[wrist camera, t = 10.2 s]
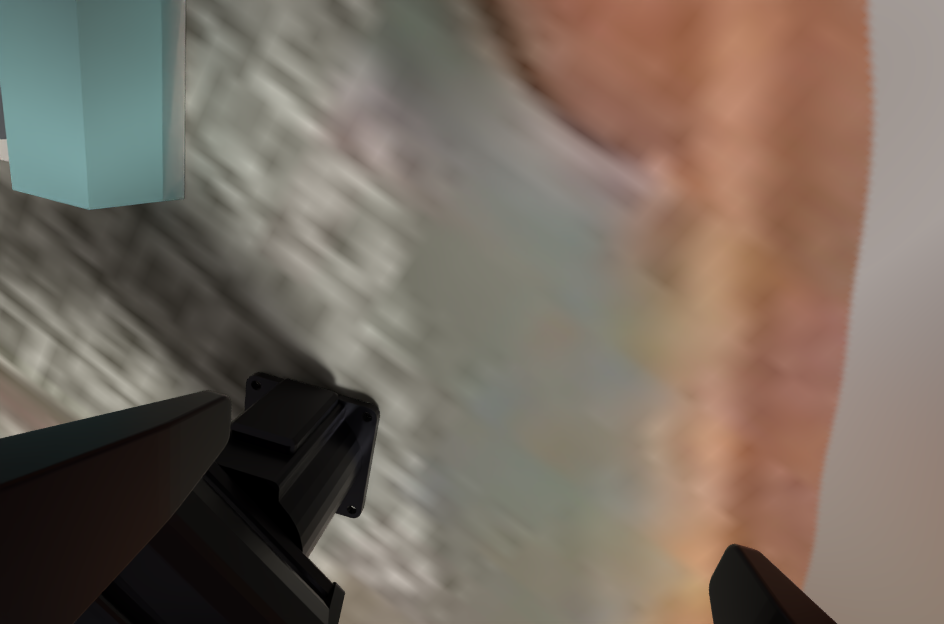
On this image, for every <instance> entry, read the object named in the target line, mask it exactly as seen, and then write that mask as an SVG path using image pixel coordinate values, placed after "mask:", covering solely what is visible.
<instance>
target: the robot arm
mask: <svg viewBox="0 0 944 624" xmlns="http://www.w3.org/2000/svg"><path fill="white" fill-rule="evenodd" d="M256 381H258V382H259V383H260V384H261V386H259V385H258V384H257V382H256ZM365 412H368V413H369V414H370V415H371V416H372V418H369V417H367V416H366V415H365ZM379 418H380V411H379V409H378V408H377V407H376V406H375V405H373V404H370V403H367V402H363V401H360V400H356V399H353V398H349V397H346V396H342V395H339V394H336V393H335V392H333V391H330V390H326V389H323V388H319V387H316V386H312V385H309V384H305V383H302V382H298V381H295V380H291V379H283V378H279V377H276V376H272V375H269V374H265V373H262V372H257V373H254V374H253V375H252V376H250V377H249V378H248V379H247V382H246V397H245V411H244V412H243V413H242V414H241V415H240V416H238V417H237V418H236V419H235V420H234V421H232V422H231V399H230V398H229V397H228V396H227V395H224V394H220V393H217V392H214V391H209V390H206V391H202V392H197V393H193V394H189V395H184V396H180V397H176V398H172V399H167V400H163V401H159V402H154V403H150V404H146V405H142V406H137V407H133V408H129V409H124V410H120V411H116V412H112V413H107V414H103V415H99V416H95V417H90V418H86V419H82V420H77V421H73V422H69V423H65V424H60V425H56V426H52V427H47V428H43V429H39V430H35V431H30V432H26V433H22V434H17V435H13V436H9V437H5V438H0V624H338V622H339V618H340V613H341V609H342V604H343V600H344V595H345V591H344V590H343V589H342V588H341V587H340V586H339V585H338V584H337V583H336V582H333V583H332V582H331V581H330V580H329V579H328V578H327V577H326V576H325V575H324V574H323V573H322V572H321V571H320V570H319V569H318V567H317V566H316V565H315V564H314V563H313V562H312V561H311V560H310V559H309V558H308V557H309V555H310V553H311V552H312V550H313V549H314V547H315V545H316V544H317V542H318V540H319V539H320V537H321V535H322V534H323V532H324V531H325V529H326V527H327V526H328V524H329V522H330V521H331V519H332V518H333V516H334V514H335V513H337V514H340V515H343V516H347V517H350V518H357V517H359V516H360V514H361V512H362V511H363V508H364V505H365V499H366V493H367V487H368V482H369V476H370V470H371V464H372V459H373V453H374V447H375V441H376V436H377V430H378V424H379ZM351 506H353V507H355V508H356V509H355V508H352V507H351ZM709 596H710V603H711V610H712V616H713V623H714V624H837V623H836V622H835V621H834V620H833V619H832V618H830V617H829V616H828V615H827V614H826V613H825V612H824V611H823V610H822V609H821V608H819V606H818V605H816V604H815V603H814V602H813V601H812V600H811V599H810V598H809V597H808V596H807V595H806V594H805V593H804V592H803V591H801V590H800V589H799V588H798V587H797V586H796V585H795V584H794V583H793V582H792V581H791V580H790V579H789V578H787V577H786V576H785V575H784V574H783V573H782V572H781V571H780V570H779V569H778V568H777V567H776V566H775V565H773V564H772V563H771V562H770V561H769V560H768V559H767V558H766V557H765V556H764V555H763V554H762V553H760V552H759V551H757V550H755V549H752V548H748V547H745V546H741V545H738V544H732V545H730V546H728V547H727V549H726V550H725V552H724V554H723V556H722V558H721V560H720V562H719V564H718V566H717V567H716V569H715V571H714V573H713V575H712V577H711V580H710V584H709Z"/></svg>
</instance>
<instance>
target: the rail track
mask: <svg viewBox="0 0 944 624" xmlns="http://www.w3.org/2000/svg"><path fill="white" fill-rule="evenodd" d="M185 21H186V0H0V85H1V94H2V103H3V111H4V120H5V129H6V138H7V139H0V160H4V161H8V162H9V164H10V173H11V181H12V190H16V191H19V192H23V193H27V194H31V195H35V196H38V197H42V198H46V199H50V200H54V201H57V202H61V203H65V204H69V205H73V206H76V207H80V208H84V209H88V210H92V209H100V208H109V207H118V206H127V205H135V204H144V203H153V202H161V201H170V200H179V199H184V157H185Z"/></svg>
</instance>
